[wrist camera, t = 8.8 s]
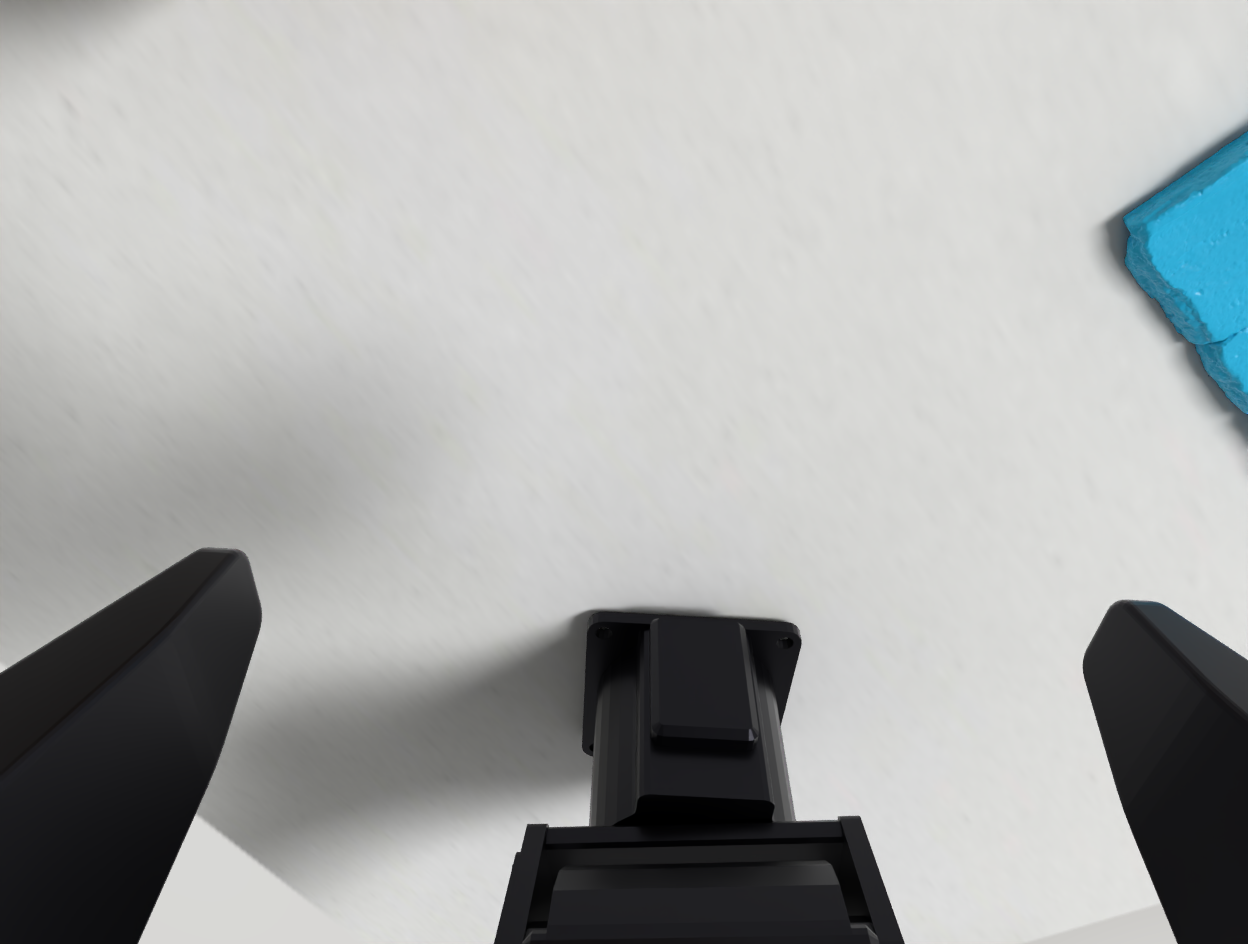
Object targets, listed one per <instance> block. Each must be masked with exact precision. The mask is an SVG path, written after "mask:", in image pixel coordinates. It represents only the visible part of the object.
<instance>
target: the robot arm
mask: <svg viewBox="0 0 1248 944" xmlns="http://www.w3.org/2000/svg"><path fill="white" fill-rule="evenodd" d="M261 622H262V609H261V603H260V600H259V596H258V592H257V588H256V585H255V581H254V577H253V573H252V570H251V566H250V562H249V560H248V557H247V556H246V554H245V553H244V552H243V551H241V550H238V549H227V548H209V547H208V548H202V549H199V550H197V551H195V552H193V553H191V554H190V555H188V556H187V557H185V558H183V559H182V560H180V561H179V562H177V563H175V564H174V565H172V566H171V567H169V568H167V569H166V570H164V571H163V572H161V573H159V574H158V575H156V576H155V577H153V578H151V579H150V580H148V581H147V582H145V583H143V584H142V585H140V586H139V587H137V588H135V589H134V590H132V591H131V592H129V593H128V594H126V595H124V596H123V597H121V598H120V599H118V600H116V601H115V602H113V603H112V604H110V605H108V606H107V607H105V608H104V609H102V610H100V611H99V612H97V613H96V614H94V615H92V616H91V617H89V618H88V619H86V620H84V621H83V622H81V623H80V624H78V625H76V626H75V627H73V628H72V629H70V630H68V631H67V632H65V633H64V634H62V635H60V636H59V637H57V638H56V639H54V640H52V641H51V642H49V643H48V644H46V645H44V646H43V647H41V648H40V649H38V650H36V651H35V652H33V653H32V654H30V655H28V656H27V657H25V658H24V659H22V660H20V661H19V662H17V663H16V664H14V665H12V666H11V667H9V668H8V669H6V670H5V671H3V672H1V673H0V944H138V942H139V940H140V938H141V935H142V933H143V931H144V929H145V926H146V924H147V922H148V920H149V917H150V915H151V913H152V911H153V908H154V906H155V904H156V902H157V899H158V897H159V895H160V893H161V890H162V888H163V886H164V884H165V881H166V879H167V877H168V875H169V872H170V870H171V868H172V865H173V863H174V861H175V859H176V857H177V854H178V852H179V850H180V848H181V845H182V843H183V841H184V839H185V836H186V834H187V832H188V830H189V827H190V825H191V823H192V821H193V818H194V816H195V814H196V812H197V809H198V807H199V805H200V803H201V800H202V798H203V796H204V794H205V791H206V789H207V787H208V785H209V782H210V780H211V777H212V775H213V773H214V770H215V768H216V765H217V763H218V760H219V757H220V754H221V751H222V748H223V745H224V743H225V740H226V736H227V733H228V730H229V727H230V724H231V720H232V717H233V714H234V711H235V708H236V705H237V701H238V698H239V695H240V692H241V689H242V686H243V682H244V679H245V676H246V673H247V670H248V666H249V663H250V660H251V657H252V654H253V651H254V647H255V644H256V641H257V638H258V635H259V631H260V628H261ZM602 627H605V628H609V629H606V630H603V629H599V628H602ZM785 637H787V639H783V640H781V638H785ZM800 648H801V635H800V631H799V629H798V627H797V626H796V625H794V624H792V623H788V622H776V621H758V620H740V619H722V618H704V617H686V616H669V615H651V614H633V613H615V612H599V613H596V614H594V615H592V616H591V617H590V618H589V621H588V629H587V649H586V671H585V694H584V716H583V738H582V748H583V751H584V752H585V753H586V754H588V755H590V756H593V769H592V785H591V802H590V819H589V826H581V827H549V825H548V824H528V825H527V828H526V832H525V836H524V840H523V845H522V849H521V852H517V853H516V855H515V859H514V864H513V865H512V872H511V876H510V880H509V884H508V888H507V892H506V896H505V901H504V905H503V909H502V913H501V917H500V921H499V925H498V929H497V934H496V938H495V942H494V944H905V943H904V940H903V937H902V935H901V932H900V929H899V926H898V923H897V920H896V917H895V915H894V912H893V909H892V906H891V903H890V900H889V897H888V895H887V892H886V889H885V886H884V883H883V880H882V877H881V875H880V872H879V869H878V866H877V863H876V860H875V857H874V855H873V852H872V849H871V846H870V843H869V840H868V838H867V835H866V832H865V829H864V826H863V823H862V820H861V818H860V816H838V820H820V821H796V819H795V813H794V807H793V801H792V795H791V788H790V782H789V776H788V770H787V764H786V758H785V751H784V745H783V739H782V733H781V727H780V726H781V722H782V718H783V715H784V711H785V707H786V703H787V699H788V695H789V691H790V687H791V683H792V679H793V676H794V672H795V668H796V664H797V660H798V656H799V652H800ZM1083 674H1084V679H1085V682H1086V686H1087V689H1088V693H1089V696H1090V699H1091V703H1092V706H1093V710H1094V713H1095V716H1096V720H1097V723H1098V727H1099V730H1100V734H1101V737H1102V740H1103V744H1104V747H1105V751H1106V754H1107V758H1108V761H1109V764H1110V768H1111V771H1112V775H1113V778H1114V782H1115V785H1116V788H1117V791H1118V794H1119V797H1120V801H1121V804H1122V807H1123V810H1124V813H1125V815H1126V818H1127V820H1128V823H1129V826H1130V828H1131V831H1132V834H1133V836H1134V839H1135V841H1136V843H1137V846H1138V848H1139V851H1140V853H1141V856H1142V858H1143V860H1144V863H1145V865H1146V868H1147V870H1148V873H1149V875H1150V878H1151V880H1152V882H1153V885H1154V887H1155V890H1156V892H1157V895H1158V897H1159V899H1160V902H1161V904H1162V907H1163V909H1164V912H1165V914H1166V917H1167V919H1168V921H1169V924H1170V926H1171V929H1172V931H1173V934H1174V936H1175V938H1176V941H1177V943H1178V944H1248V660H1247V659H1245V658H1244V657H1242V656H1241V655H1239V654H1238V653H1236V652H1235V651H1233V650H1232V649H1230V648H1229V647H1227V646H1226V645H1224V644H1223V643H1221V642H1220V641H1218V640H1217V639H1215V638H1214V637H1212V636H1211V635H1209V634H1208V633H1206V632H1205V631H1203V630H1202V629H1200V628H1198V627H1197V626H1195V625H1194V624H1192V623H1191V622H1189V621H1188V620H1186V619H1185V618H1183V617H1182V616H1180V615H1179V614H1177V613H1176V612H1174V611H1173V610H1171V609H1170V608H1168V607H1167V606H1165V605H1163V604H1161V603H1158V602H1154V601H1139V600H1120V601H1117V602H1115V603H1114V604H1113V605H1111V606H1110V608H1109V609H1108V611H1107V613H1106V614H1105V616H1104V618H1103V620H1102V622H1101V624H1100V626H1099V627H1098V629H1097V631H1096V633H1095V635H1094V637H1093V638H1092V640H1091V642H1090V644H1089V646H1088V648H1087V650H1086V652H1085V655H1084V659H1083Z"/></svg>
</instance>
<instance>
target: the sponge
mask: <svg viewBox="0 0 1248 944" xmlns="http://www.w3.org/2000/svg"><path fill="white" fill-rule="evenodd" d="M1123 221H1124V223H1125V225H1126V227H1127V228H1128V230H1129V231H1130V233H1131V234H1130V236H1129V238H1128V240H1127V254H1126V257H1125V258H1124V259H1125V265H1126V267H1127V268H1128V270H1130V271H1131V274H1132V275H1133V277H1134V278H1135V279H1136V282H1137V283H1138V284H1139V285H1140V287H1141V288H1142V289H1143V290H1144V291H1146V292H1147V293H1148V295H1149V296H1150V298H1155V299H1156V300H1157V301H1158V302H1160V306H1161V308H1162V309H1163V310H1164V312H1165V314H1166V317H1167V318H1169V319H1170V321H1171V322H1172V323H1173V324H1174V327H1175V329H1176V331H1177V332H1178V333H1179V334H1182V335H1183V336H1184V337H1185V338H1186V339H1187V340H1188V341H1189V342H1191V343H1193V344H1195V346H1196V351H1197V353H1198V354H1200V357H1201V361H1202V363H1203V365H1204V368H1205V370H1206V371H1207V373H1208V374H1209V375H1210V376H1211V377H1212V378H1213V379H1214V380H1215V381H1216V382H1217V384H1218V386H1219V387H1220V388H1221V389H1222V390H1223V391H1224V392H1225V395H1226V397H1227V398H1229V399H1230V401H1231V402H1232V403H1234V404H1235V406H1237V407H1238V408H1239V409H1240V410H1242V412H1243V413H1246V414H1248V131H1247V132H1245V133H1244V134H1242V135H1241V136H1240V137H1239V138H1238V139H1235V140H1234V141H1232V142H1231V143H1229V144H1227V145H1226V146H1224V147H1223V148H1221V149H1220V150H1219V151H1218V152H1217V153H1215V154H1214V155H1212V156H1211V157H1209V158H1208V159H1206V160H1204V161H1203V162H1202V163H1200V164H1199V165H1198V166H1196V167H1195V168H1193V169H1192V170H1190V171H1189V172H1187V173H1186V174H1185V175H1183V176H1182V177H1181V178H1179V179H1178V180H1176V181H1174V182H1173V183H1172V184H1170V185H1169V186H1168V187H1166V188H1165V189H1164V190H1163V191H1161V192H1158V193H1157V194H1155V195H1154V196H1153V197H1152V198H1150V199H1149V200H1147V201H1146V202H1144V203H1143V204H1142V205H1140V206H1138V207H1137V208H1135V209H1134V210H1132V211H1131V212H1130V213H1128V214H1127V215H1125V216H1124V218H1123ZM1209 375H1208V376H1209Z"/></svg>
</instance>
